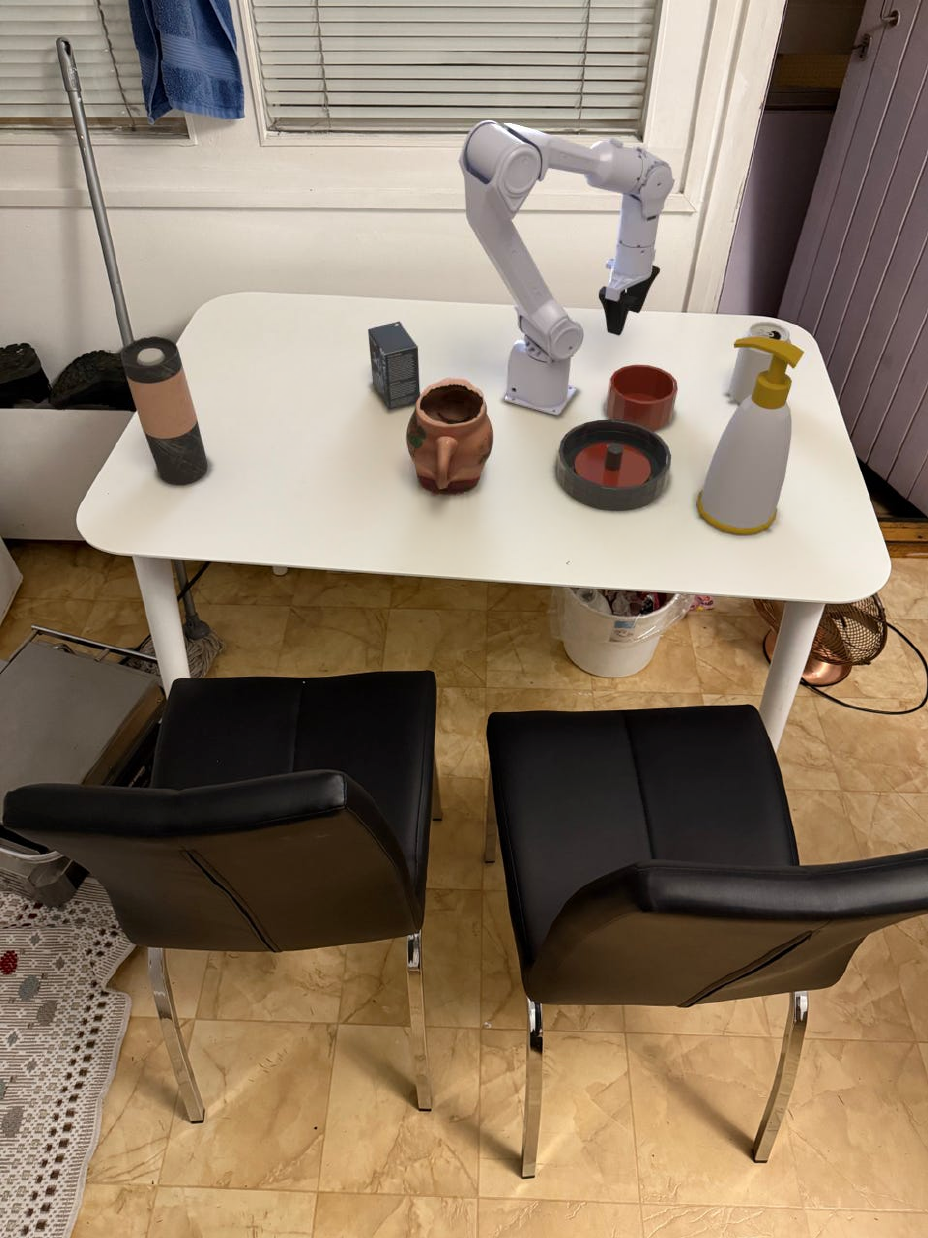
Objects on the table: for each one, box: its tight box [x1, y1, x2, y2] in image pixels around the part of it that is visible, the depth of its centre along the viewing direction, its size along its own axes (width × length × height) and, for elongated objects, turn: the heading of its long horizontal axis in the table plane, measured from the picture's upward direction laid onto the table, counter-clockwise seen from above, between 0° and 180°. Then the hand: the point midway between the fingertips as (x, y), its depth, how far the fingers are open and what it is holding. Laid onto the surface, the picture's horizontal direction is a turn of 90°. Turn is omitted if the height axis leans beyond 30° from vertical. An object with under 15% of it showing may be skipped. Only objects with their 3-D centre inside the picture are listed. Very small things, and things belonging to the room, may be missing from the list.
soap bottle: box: [696, 336, 805, 535], centre depth 121 cm, size 11×12×26 cm
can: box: [728, 321, 792, 405], centre depth 144 cm, size 8×8×12 cm
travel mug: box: [120, 336, 208, 486], centre depth 129 cm, size 8×8×20 cm
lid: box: [574, 443, 651, 487], centre depth 134 cm, size 11×11×4 cm
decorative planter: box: [405, 377, 494, 496], centre depth 129 cm, size 20×12×14 cm, turn 0°
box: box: [367, 321, 421, 411], centre depth 145 cm, size 8×6×11 cm
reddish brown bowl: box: [605, 364, 679, 432], centre depth 144 cm, size 10×10×5 cm
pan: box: [556, 419, 672, 512], centre depth 134 cm, size 16×16×4 cm
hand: (624, 321), depth 147 cm, fingers open, 7 cm apart
